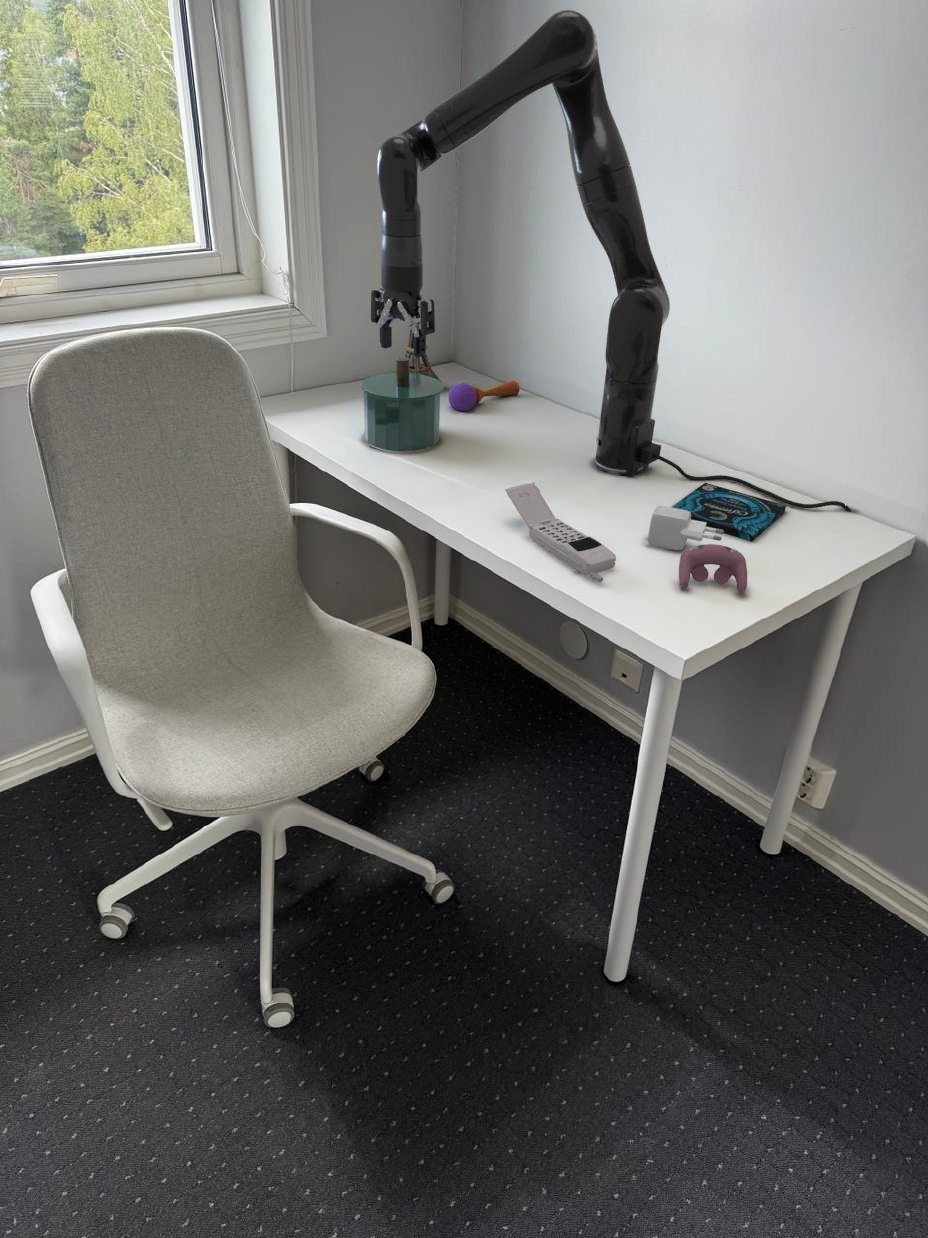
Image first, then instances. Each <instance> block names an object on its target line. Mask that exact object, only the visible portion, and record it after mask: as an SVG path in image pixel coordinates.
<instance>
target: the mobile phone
mask: <svg viewBox="0 0 928 1238" xmlns="http://www.w3.org/2000/svg"><path fill="white" fill-rule="evenodd" d="M504 491H505V492H506V494H507V497H508V498H509V499H510V501H511V503H512V504H513V506H514V508H515V509H516V511H517V512H518V514H519V515H520V517H521V519H522V520H523V521H524V523H525V524H526V526H527V528H528V530H529V531H528V533H529V537H530V539H531V540H533V541H534V542H536V543H537V544H538V545H540V546H541V547H542V548H543V549H545V550H546V551H548V552H549V553H551V554H552V555H553V556H555V557H556V558H558V559H559V560H561V561H563V562H564V563H566V564H567V565H568V566H569V567H571V568H573V570H576V571H577V572H580V573H582V574H585V575H587V576H588V577H589V578H591V579H593V580H595V581H597V582H599V583H602V582H603V581H604V578H603V577H602V576H601V575H600V574H599V573H601V572H604V571H608V570H611V569H614V568H615V566H616V561H617V555H616V554H615V552H613V551H611V550H610V549H609V548H608V547H607V546H606V545H604V544H603V543H602V542H600V541H598V540H597V539H596V538H594V537H592V536H588V535H587V534H585V533H583V532H582V531H580V530H578V529H576V528H574V527H572V526H571V525H570V524H567V523H566V522H564V521H563V520H560V518H558V517H557V518H556V516H555V515H554V513H553V511H552V510H551V509H550V506H549V505H548V503H547V502H546V500H545V498H544V496H543V495H542V493H541V490H540V488H539V487H538V486H537V485H536V484H535V483H534V482H530V483H524V484H519V485H514V486H512V487H509V488H505V489H504Z"/></svg>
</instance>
